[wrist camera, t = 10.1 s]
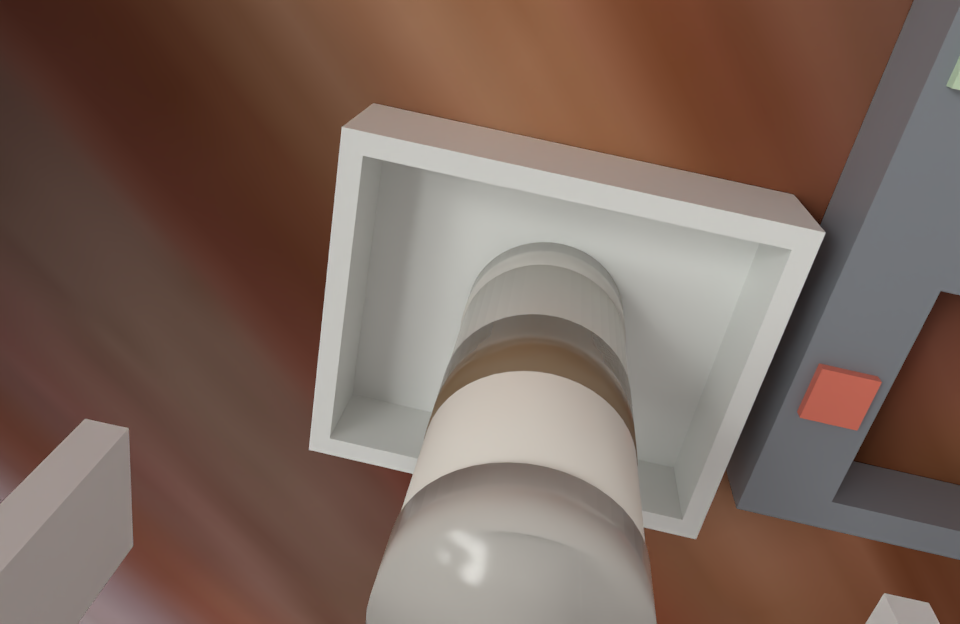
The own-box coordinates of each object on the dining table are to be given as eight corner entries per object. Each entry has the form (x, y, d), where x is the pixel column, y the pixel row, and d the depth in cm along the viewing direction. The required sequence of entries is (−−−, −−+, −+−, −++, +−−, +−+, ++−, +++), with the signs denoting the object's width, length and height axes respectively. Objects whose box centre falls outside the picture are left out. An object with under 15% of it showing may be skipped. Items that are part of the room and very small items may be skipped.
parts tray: (338, 395, 26) (309, 449, 23) (373, 102, 21) (342, 126, 19) (683, 474, 25) (696, 539, 23) (793, 194, 21) (825, 232, 18)
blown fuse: (455, 363, 24) (351, 702, 13) (483, 226, 22) (385, 498, 11) (600, 396, 24) (614, 765, 13) (642, 261, 22) (698, 570, 11)
